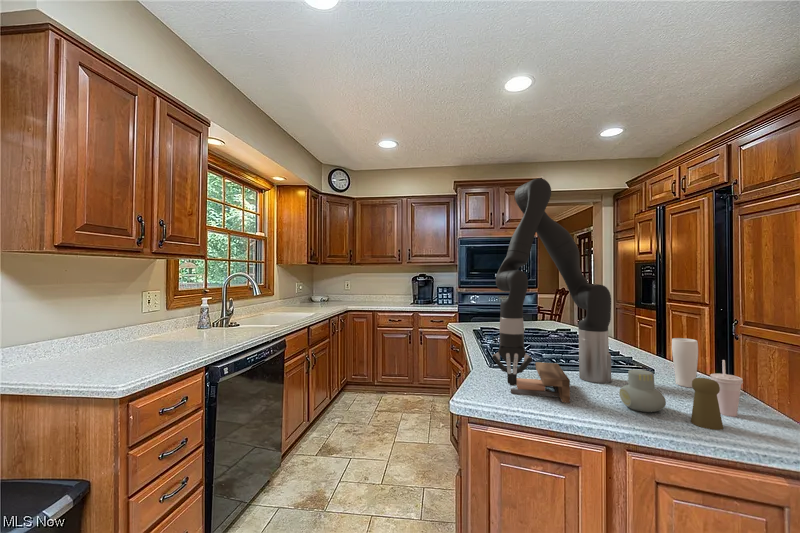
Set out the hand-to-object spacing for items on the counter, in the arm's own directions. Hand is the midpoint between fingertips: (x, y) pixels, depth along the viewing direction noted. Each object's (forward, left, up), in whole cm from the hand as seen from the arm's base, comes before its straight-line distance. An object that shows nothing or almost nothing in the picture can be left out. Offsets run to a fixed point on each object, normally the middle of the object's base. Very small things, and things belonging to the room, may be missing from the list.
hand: (511, 385), depth 115 cm
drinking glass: (-55, -16, -1) cm, 58 cm away
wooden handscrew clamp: (-8, 0, -1) cm, 8 cm away
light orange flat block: (-6, 0, -1) cm, 6 cm away
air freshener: (-33, +10, -1) cm, 35 cm away
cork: (-44, +18, -1) cm, 48 cm away
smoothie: (-53, +9, -1) cm, 54 cm away
